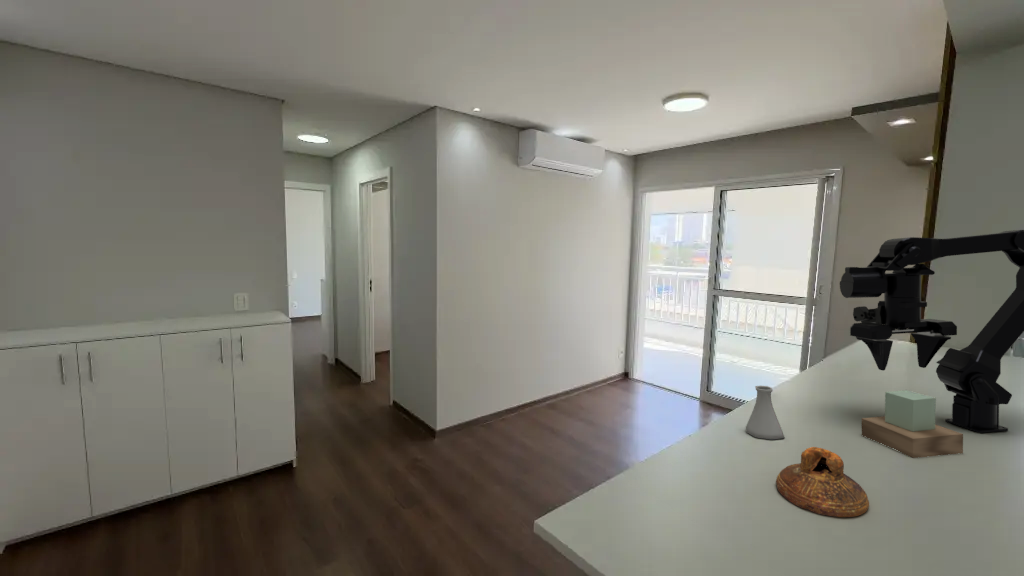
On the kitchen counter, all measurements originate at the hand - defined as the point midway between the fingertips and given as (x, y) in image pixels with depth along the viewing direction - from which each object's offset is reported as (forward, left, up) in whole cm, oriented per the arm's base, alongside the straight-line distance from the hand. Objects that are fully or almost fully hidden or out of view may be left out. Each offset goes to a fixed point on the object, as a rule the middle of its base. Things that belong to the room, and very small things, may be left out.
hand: (902, 368), depth 89 cm
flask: (+31, 0, -12) cm, 33 cm away
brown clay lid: (+38, +23, -12) cm, 46 cm away
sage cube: (+8, +9, -8) cm, 15 cm away
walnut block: (+8, +9, -12) cm, 17 cm away
